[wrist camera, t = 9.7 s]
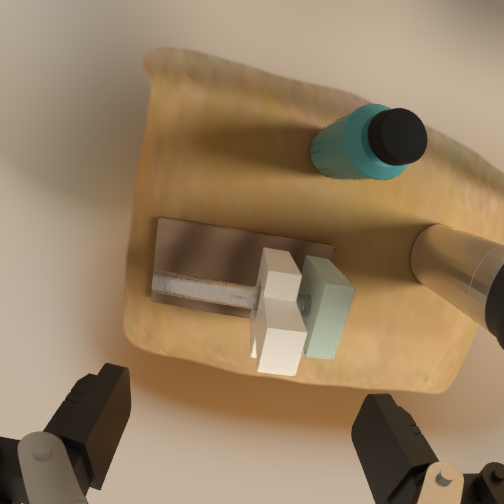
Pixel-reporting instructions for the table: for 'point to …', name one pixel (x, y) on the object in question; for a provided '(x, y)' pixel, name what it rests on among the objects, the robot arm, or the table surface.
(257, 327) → the white stepped block
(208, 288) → the steel pipe
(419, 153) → the beverage bottle
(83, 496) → the robot arm
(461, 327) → the table surface
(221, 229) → the pipe board
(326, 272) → the mount block
